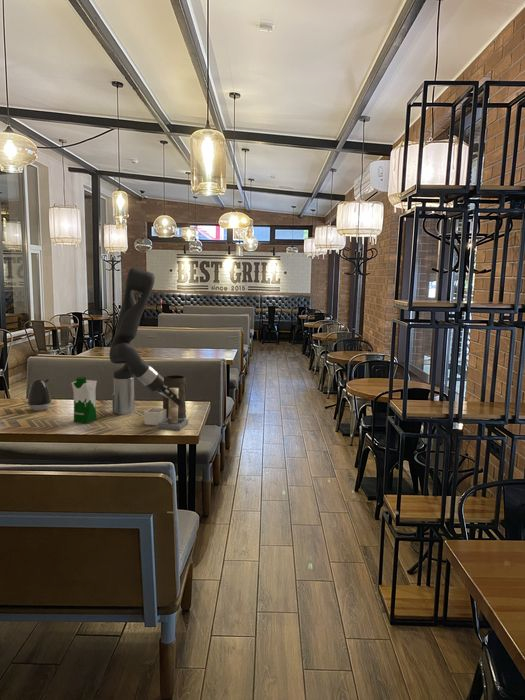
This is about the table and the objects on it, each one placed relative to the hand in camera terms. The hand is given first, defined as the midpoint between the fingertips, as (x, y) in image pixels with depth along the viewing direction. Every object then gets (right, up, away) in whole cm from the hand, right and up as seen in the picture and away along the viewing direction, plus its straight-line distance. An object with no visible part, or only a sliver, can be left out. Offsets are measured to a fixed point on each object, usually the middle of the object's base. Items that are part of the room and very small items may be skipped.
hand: (175, 401), depth 208 cm
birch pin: (-1, -10, +1) cm, 10 cm away
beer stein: (-3, -9, +17) cm, 19 cm away
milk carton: (-42, -10, +7) cm, 43 cm away
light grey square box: (-10, -10, +6) cm, 15 cm away
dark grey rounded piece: (-70, -7, +24) cm, 74 cm away
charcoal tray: (-1, -11, +1) cm, 11 cm away
